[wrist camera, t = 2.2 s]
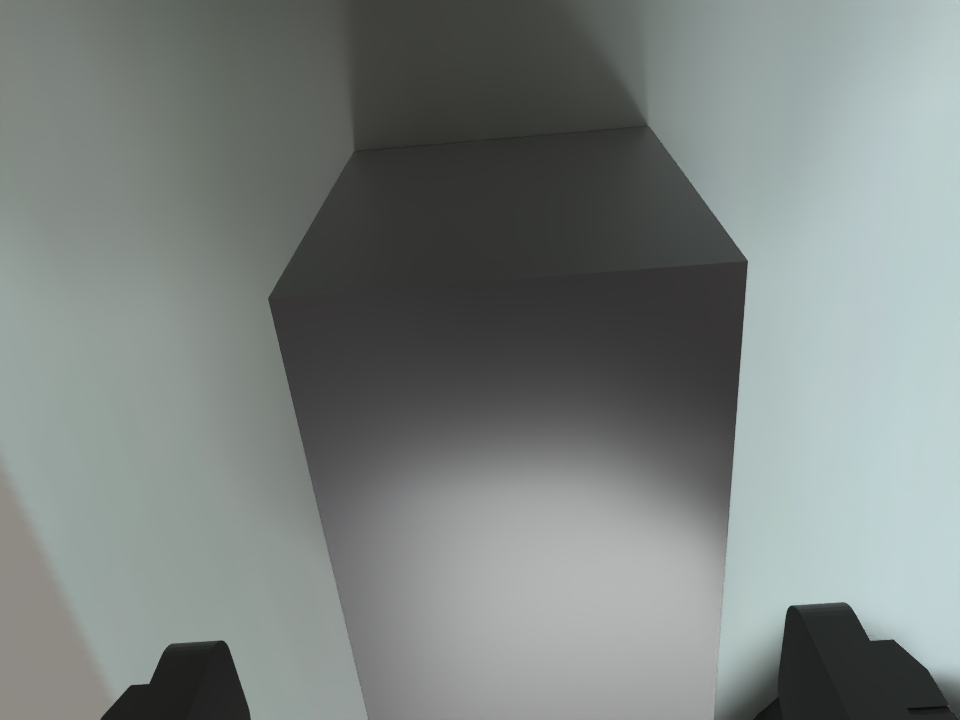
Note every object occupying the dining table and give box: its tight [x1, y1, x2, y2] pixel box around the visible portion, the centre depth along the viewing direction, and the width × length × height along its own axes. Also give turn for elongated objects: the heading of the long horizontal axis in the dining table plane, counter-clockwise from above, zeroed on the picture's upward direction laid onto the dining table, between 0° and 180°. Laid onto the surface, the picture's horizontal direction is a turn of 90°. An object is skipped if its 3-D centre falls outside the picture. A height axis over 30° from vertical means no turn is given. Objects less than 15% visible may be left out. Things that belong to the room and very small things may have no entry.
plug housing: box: [268, 126, 748, 720], centre depth 14 cm, size 5×12×6 cm, turn 5°
